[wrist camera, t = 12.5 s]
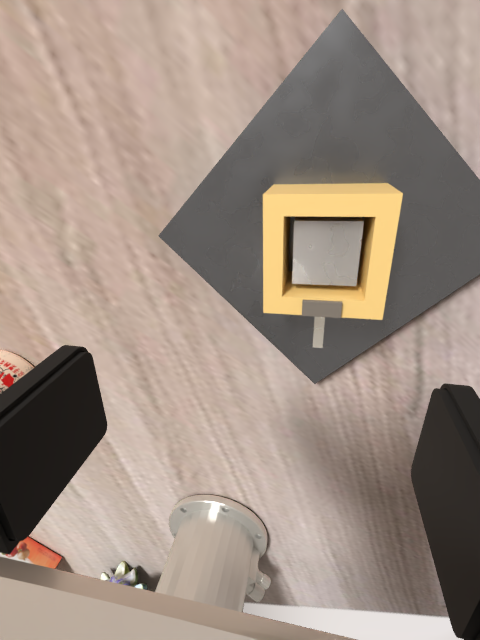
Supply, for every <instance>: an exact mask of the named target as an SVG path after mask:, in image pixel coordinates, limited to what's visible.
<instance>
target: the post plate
mask: <svg viewBox="0 0 480 640" xmlns="http://www.w3.org/2000/svg"><path fill="white" fill-rule="evenodd" d="M353 183H388V184H390V185H391V186H393V187H394V188H396V189H397V190H399V191H400V192H402V193H403V197H402V203H401V209H400V215H399V221H398V227H397V233H396V240H395V246H394V252H393V258H392V264H391V270H390V276H389V283H388V289H387V295H386V301H385V307H384V313H383V319H382V320H376V319H359V318H342V317H341V318H331V317H314V316H302V315H291V314H273V313H263V194H264V193H265V192H266V191H267V190H268V189H269V188H270V187H271V186H272V185H274V184H353ZM363 225H364V217H316V216H290V240H289V271H292V284H313V285H338V286H356V284H357V276H358V267H359V259H360V250H361V242H362V234H363ZM159 237H160V238H161V239H162V240H163V241H164V242H165V243H166V244H168V245H169V246H170V247H171V248H172V249H173V250H174V251H175V252H176V253H177V254H178V255H179V256H180V257H181V258H182V259H183V260H184V261H185V262H187V263H188V264H189V265H190V266H191V267H192V268H193V269H194V270H195V271H196V272H197V273H198V274H199V275H200V276H201V277H202V278H203V279H204V280H206V281H207V282H208V283H209V284H210V285H211V286H212V287H213V288H214V289H215V290H216V291H217V292H218V293H219V294H220V295H221V296H222V297H224V298H225V299H226V300H227V301H228V302H229V303H230V304H231V305H232V306H233V307H234V308H235V309H236V310H237V311H238V312H239V313H240V314H241V315H243V316H244V317H245V318H246V319H247V320H248V321H249V322H250V323H251V324H252V325H253V326H254V327H255V328H256V329H257V330H258V331H259V332H260V333H262V334H263V335H264V336H265V337H266V338H267V339H268V340H269V341H270V342H271V343H272V344H273V345H274V346H275V347H276V348H277V349H278V350H280V351H281V352H282V353H283V354H284V355H285V356H286V357H287V358H288V359H289V360H290V361H291V362H292V363H293V364H294V365H295V366H296V367H297V368H299V369H300V370H301V371H302V372H303V373H304V374H305V375H306V376H307V377H308V378H309V379H310V380H311V381H312V382H313V383H314V384H316V383H317V382H319V381H320V380H322V379H323V378H325V377H326V376H328V375H329V374H331V373H332V372H334V371H335V370H337V369H338V368H340V367H341V366H343V365H344V364H346V363H347V362H349V361H350V360H352V359H353V358H355V357H356V356H358V355H359V354H361V353H362V352H364V351H365V350H367V349H368V348H370V347H371V346H373V345H374V344H376V343H377V342H379V341H380V340H382V339H383V338H385V337H386V336H388V335H389V334H391V333H392V332H394V331H395V330H397V329H398V328H400V327H401V326H403V325H404V324H406V323H407V322H409V321H410V320H412V319H413V318H415V317H416V316H418V315H419V314H421V313H422V312H424V311H425V310H427V309H428V308H430V307H431V306H433V305H434V304H436V303H437V302H439V301H440V300H442V299H443V298H445V297H446V296H448V295H449V294H451V293H452V292H454V291H455V290H457V289H458V288H460V287H461V286H463V285H464V284H466V283H467V282H469V281H470V280H472V279H473V278H475V277H476V276H478V275H479V274H480V180H479V179H478V177H477V176H476V175H475V174H474V172H473V171H472V170H471V169H470V167H469V166H468V165H467V164H466V162H465V161H464V160H463V159H462V157H461V156H460V155H459V154H458V152H457V151H456V150H455V149H454V147H453V146H452V145H451V144H450V142H449V141H448V140H447V139H446V137H445V136H444V135H443V134H442V132H441V131H440V130H439V129H438V127H437V126H436V125H435V124H434V123H433V121H432V120H431V119H430V118H429V116H428V115H427V114H426V113H425V111H424V110H423V109H422V108H421V106H420V105H419V104H418V103H417V101H416V100H415V99H414V98H413V96H412V95H411V94H410V93H409V91H408V90H407V89H406V88H405V86H404V85H403V84H402V83H401V81H400V80H399V79H398V78H397V76H396V75H395V74H394V73H393V71H392V70H391V69H390V68H389V66H388V65H387V64H386V63H385V61H384V60H383V59H382V58H381V57H380V55H379V54H378V53H377V52H376V50H375V49H374V48H373V47H372V45H371V44H370V43H369V42H368V40H367V39H366V38H365V37H364V35H363V34H362V33H361V32H360V30H359V29H358V28H357V27H356V25H355V24H354V23H353V22H352V20H351V19H350V18H349V17H348V15H347V14H346V13H345V12H344V10H343V9H342V10H341V11H340V12H339V13H338V15H337V16H336V17H335V18H334V19H333V21H332V22H331V23H330V24H329V26H328V27H327V28H326V29H325V31H324V32H323V33H322V34H321V36H320V37H319V38H318V39H317V41H316V42H315V43H314V44H313V45H312V47H311V48H310V49H309V50H308V52H307V53H306V54H305V55H304V57H303V58H302V59H301V60H300V62H299V63H298V64H297V65H296V66H295V68H294V69H293V70H292V71H291V73H290V74H289V75H288V76H287V78H286V79H285V80H284V81H283V83H282V84H281V85H280V86H279V87H278V89H277V90H276V91H275V92H274V94H273V95H272V96H271V97H270V99H269V100H268V101H267V102H266V104H265V105H264V106H263V107H262V109H261V110H260V111H259V112H258V113H257V115H256V116H255V117H254V118H253V120H252V121H251V122H250V123H249V125H248V126H247V127H246V128H245V130H244V131H243V132H242V133H241V134H240V136H239V137H238V138H237V139H236V141H235V142H234V143H233V144H232V146H231V147H230V148H229V149H228V151H227V152H226V153H225V154H224V155H223V157H222V158H221V159H220V160H219V162H218V163H217V164H216V165H215V167H214V168H213V169H212V170H211V172H210V173H209V174H208V175H207V177H206V178H205V179H204V180H203V181H202V183H201V184H200V185H199V186H198V188H197V189H196V190H195V191H194V193H193V194H192V195H191V196H190V198H189V199H188V200H187V201H186V202H185V204H184V205H183V206H182V207H181V209H180V210H179V211H178V212H177V214H176V215H175V216H174V217H173V219H172V220H171V221H170V222H169V223H168V225H167V226H166V227H165V228H164V230H163V231H162V232H161V233H160V235H159Z"/></svg>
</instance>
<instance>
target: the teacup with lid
mask: <svg viewBox="0 0 480 640" xmlns="http://www.w3.org/2000/svg"><path fill="white" fill-rule="evenodd" d="M33 368H34V367H33V366H32V365H31V364H30V363H29V362H28V361H26V360H25V359H23V358H22V357H20V356H18V355H16V354H14V353H11V352H8V351H3V350H0V394H1V393H2V392H3V391H5V390H6V389H7V388H8V387H10V386H11V385H12V384H14V383H15V382H16V381H18V380H19V379H20V378H21V377H23V376H24V375H25V374H27V373H28V372H29V371H31V370H32V369H33Z"/></svg>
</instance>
